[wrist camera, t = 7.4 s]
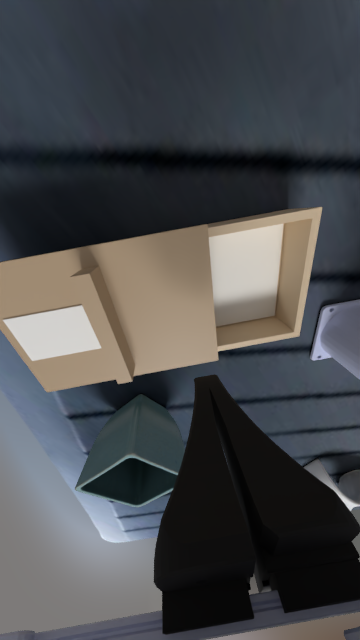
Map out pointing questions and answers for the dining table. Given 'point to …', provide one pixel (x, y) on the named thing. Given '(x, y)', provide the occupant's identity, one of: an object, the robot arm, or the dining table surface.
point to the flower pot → (134, 455)
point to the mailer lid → (112, 308)
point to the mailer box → (261, 275)
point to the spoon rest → (351, 487)
